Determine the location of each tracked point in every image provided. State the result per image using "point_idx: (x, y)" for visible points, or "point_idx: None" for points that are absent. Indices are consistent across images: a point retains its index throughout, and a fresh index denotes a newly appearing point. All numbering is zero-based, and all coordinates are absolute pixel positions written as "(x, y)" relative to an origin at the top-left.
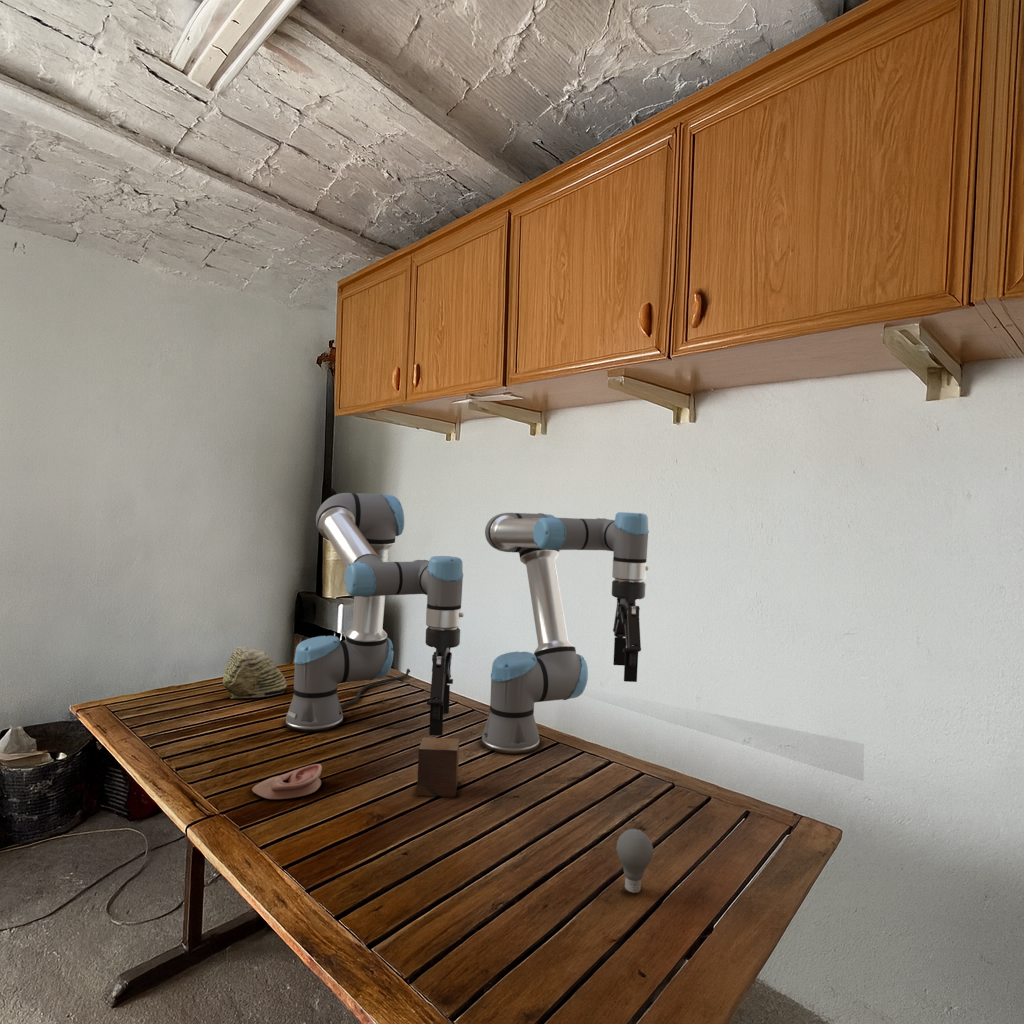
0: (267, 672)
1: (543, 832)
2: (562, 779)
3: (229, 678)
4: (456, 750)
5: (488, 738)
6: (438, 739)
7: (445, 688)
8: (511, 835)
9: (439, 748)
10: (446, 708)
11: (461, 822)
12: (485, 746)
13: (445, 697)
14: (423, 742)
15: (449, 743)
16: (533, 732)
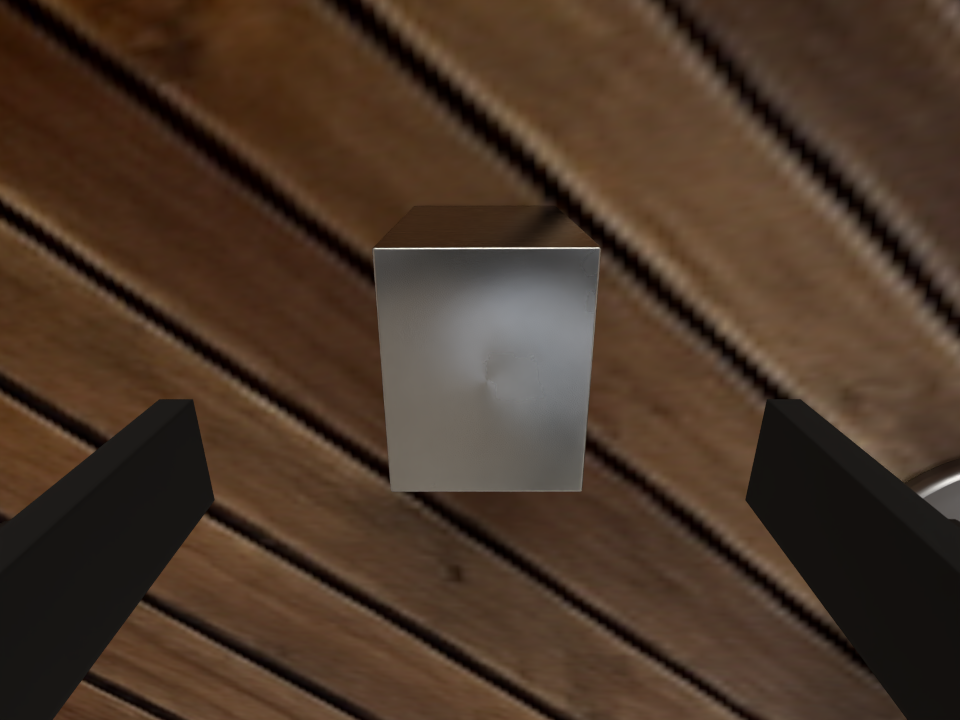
0: None
1: (229, 636)
2: (598, 700)
3: None
4: (391, 486)
5: (955, 506)
6: (561, 365)
7: (949, 702)
8: (185, 559)
9: (400, 388)
10: (773, 516)
11: (225, 410)
12: (935, 469)
13: (851, 592)
14: (494, 266)
15: (495, 440)
16: None
